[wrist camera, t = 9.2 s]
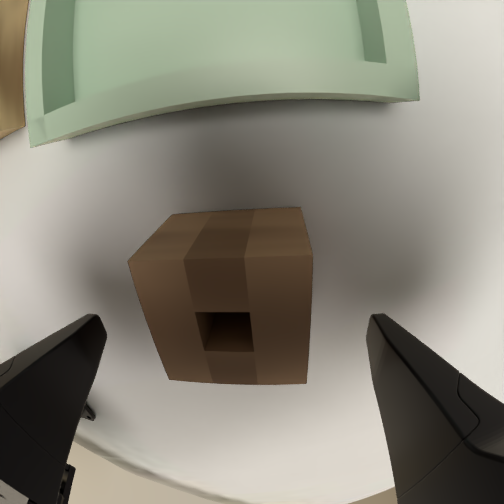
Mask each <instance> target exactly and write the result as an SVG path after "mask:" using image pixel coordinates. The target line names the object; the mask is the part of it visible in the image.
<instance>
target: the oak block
mask: <svg viewBox="0 0 504 504" xmlns="http://www.w3.org/2000/svg"><path fill="white" fill-rule="evenodd" d="M28 1H29V0H0V139H2V138H4V137H5V136H7V135H9V134H11V133H12V132H14V131H16V130H18V129H20V128H22V127H24V126H25V119H24V105H23V45H24V33H25V23H26V15H27V8H28Z"/></svg>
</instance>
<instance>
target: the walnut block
mask: <svg viewBox="0 0 504 504" xmlns="http://www.w3.org/2000/svg"><path fill="white" fill-rule="evenodd" d="M128 264H129V268H130V271H131V275H132V278H133V281H134V285H135V288H136V291H137V294H138V297H139V301H140V304H141V307H142V310H143V312H144V315H145V318H146V321H147V324H148V327H149V330H150V332H151V335H152V338H153V340H154V343H155V346H156V348H157V351H158V353H159V356H160V358H161V361H162V363H163V366H164V368H165V371H166V373H167V375H168V378H169V380H177V381H188V382H201V383H217V384H245V385H280V384H306V383H307V371H308V358H309V343H310V325H311V304H312V274H313V253H312V249H311V245H310V241H309V237H308V233H307V229H306V226H305V222H304V218H303V214H302V210H301V207H289V208H266V209H246V210H229V211H213V212H199V213H186V214H173V215H171V216H170V217H169V218H168V219H167V220H166V221H165V222H164V223H163V224H162V225H161V226H160V227H159V228H158V229H157V231H156V232H155V233H154V234H153V235H152V236H151V237H150V238H149V239H148V240H147V241H146V242H145V243H144V244H143V245H142V246H141V247H140V248H139V249H138V250H137V252H136V253H135V254H134V255H133V256H132V257H131V258H130V259H129V260H128Z"/></svg>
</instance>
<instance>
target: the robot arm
mask: <svg viewBox="0 0 504 504" xmlns="http://www.w3.org/2000/svg"><path fill="white" fill-rule="evenodd" d="M106 340H107V332H106V330H105V328H104V325H103V323H102V321H101V318H100V317H99V316H98V315H96V314H87V315H85V316H83V317H82V318H80V319H78V320H76V321H75V322H73V323H71V324H69V325H67V326H66V327H64V328H62V329H60V330H59V331H57V332H55V333H53V334H52V335H50V336H48V337H46V338H45V339H43V340H41V341H40V342H38V343H36V344H34V345H33V346H31V347H29V348H27V349H26V350H24V351H22V352H21V353H19V354H17V355H16V356H14V357H12V358H10V359H9V360H7V361H5V362H3V363H2V364H0V504H68V500H69V495H70V491H71V486H72V482H73V478H74V474H75V470H76V469H75V467H73V466H71V465H68V464H67V463H66V462H67V459H68V455H69V452H70V449H71V445H72V441H73V439H74V435H75V432H76V429H77V426H78V423H79V420H80V418H81V417H82V418H85V419H88V420H91V421H94V419H95V415H94V414H93V413H92V411H91V410H90V409H89V407H88V406H87V405H86V404H85V403H86V400H87V397H88V395H89V392H90V389H91V387H92V384H93V381H94V379H95V376H96V373H97V370H98V367H99V363H100V360H101V356H102V353H103V350H104V346H105V343H106ZM366 342H367V348H368V354H369V361H370V368H371V375H372V381H373V386H374V390H375V394H376V398H377V402H378V406H379V410H380V414H381V418H382V423H383V427H384V432H385V436H386V441H387V445H388V450H389V455H390V460H391V466H392V471H393V477H394V482H395V488H396V495H397V498H398V499H397V501H398V504H504V404H503V403H502V402H500V401H499V400H497V399H496V398H494V397H493V396H491V395H490V394H488V393H487V392H485V391H484V390H483V389H481V388H480V387H478V386H477V385H476V384H475V383H473V382H472V381H471V380H469V379H468V378H467V377H466V376H464V375H463V374H462V373H459V371H458V370H457V369H455V368H454V367H453V366H452V365H450V364H449V363H448V362H447V361H445V360H444V359H443V358H442V357H440V356H439V355H438V354H436V353H435V352H434V351H433V350H431V349H430V348H429V347H427V346H426V345H425V344H424V343H422V342H421V341H420V340H418V339H417V338H416V337H415V336H413V335H412V334H411V333H409V332H408V331H407V330H405V329H404V328H403V327H401V326H400V325H399V324H398V323H396V322H395V321H394V320H392V319H391V318H390V317H388V316H387V315H386V314H384V313H380V314H372V315H371V317H370V320H369V325H368V330H367V335H366Z"/></svg>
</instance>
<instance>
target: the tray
mask: <svg viewBox="0 0 504 504" xmlns="http://www.w3.org/2000/svg"><path fill="white" fill-rule="evenodd" d="M25 92H26V110H27V122H28V132H29V140H30V148H33V147H37V146H41V145H44V144H49V143H53V142H57V141H61V140H66V139H70V138H73V137H76V136H79V135H82V134H85V133H88V132H92V131H95V130H98V129H102V128H105V127H109V126H113V125H117V124H120V123H124V122H128V121H132V120H137V119H141V118H145V117H150V116H155V115H160V114H165V113H170V112H176V111H181V110H187V109H193V108H200V107H207V106H215V105H223V104H232V103H242V102H254V101H269V100H292V99H336V100H359V101H373V102H384V103H394V102H407V101H420V96H419V82H418V71H417V62H416V54H415V47H414V40H413V34H412V28H411V23H410V17H409V13H408V8H407V3H406V0H31V4H30V10H29V18H28V27H27V38H26V55H25Z"/></svg>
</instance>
